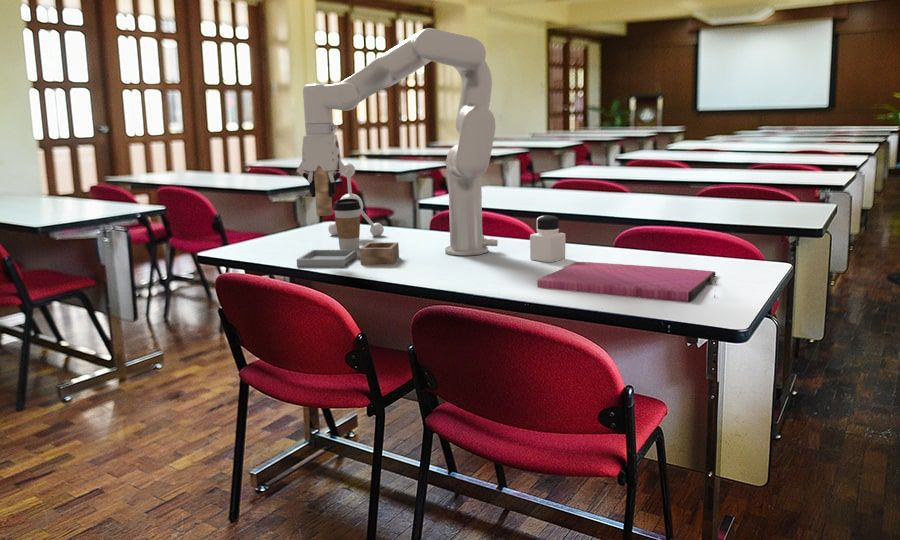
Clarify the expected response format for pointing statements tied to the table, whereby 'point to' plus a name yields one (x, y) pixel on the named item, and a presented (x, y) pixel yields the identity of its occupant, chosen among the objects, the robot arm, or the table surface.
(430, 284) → the table surface
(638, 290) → the maroon flat block
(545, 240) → the medicine bottle
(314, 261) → the tray
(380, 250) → the shallow tan box
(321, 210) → the dowel
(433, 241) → the table surface
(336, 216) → the coffee cup
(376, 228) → the molecular model
